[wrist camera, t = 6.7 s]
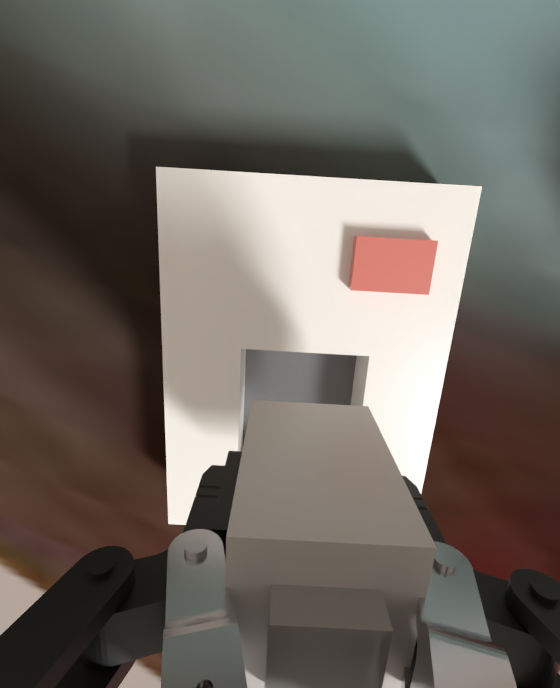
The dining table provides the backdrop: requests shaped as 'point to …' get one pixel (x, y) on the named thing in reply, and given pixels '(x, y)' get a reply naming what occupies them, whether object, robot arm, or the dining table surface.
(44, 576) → the dining table surface
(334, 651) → the plug
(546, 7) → the dining table surface
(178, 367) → the socket plate
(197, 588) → the robot arm
